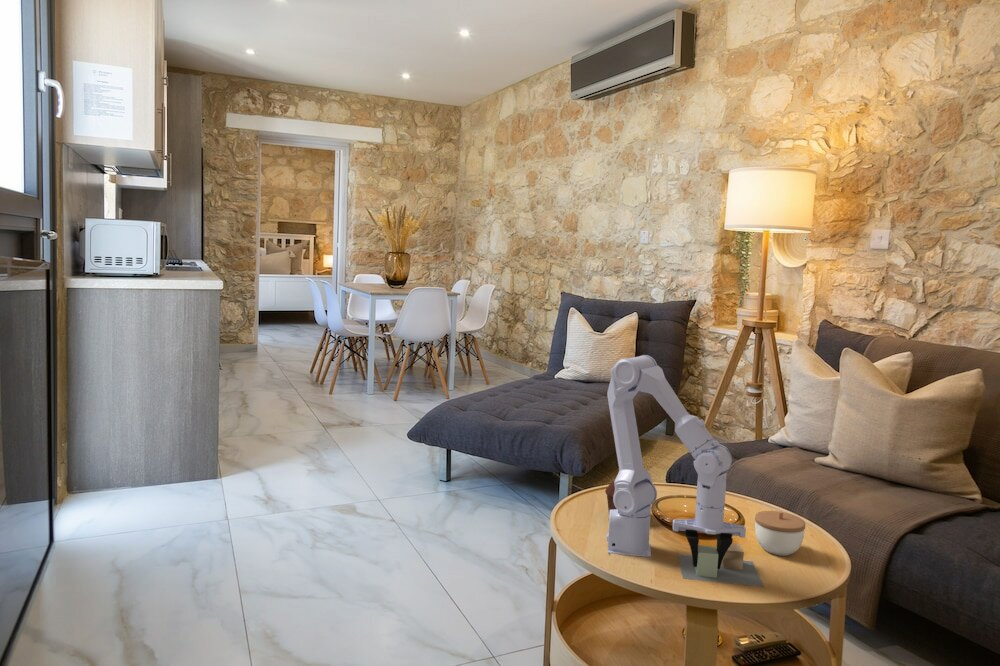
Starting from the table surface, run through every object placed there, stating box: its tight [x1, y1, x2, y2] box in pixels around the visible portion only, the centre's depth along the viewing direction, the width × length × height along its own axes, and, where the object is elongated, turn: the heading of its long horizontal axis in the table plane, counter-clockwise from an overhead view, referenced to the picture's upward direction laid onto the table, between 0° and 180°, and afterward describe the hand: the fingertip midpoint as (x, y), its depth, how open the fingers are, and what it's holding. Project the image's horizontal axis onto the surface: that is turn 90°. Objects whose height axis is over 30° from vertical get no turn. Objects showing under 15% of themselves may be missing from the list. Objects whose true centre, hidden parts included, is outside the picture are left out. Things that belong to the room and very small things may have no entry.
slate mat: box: [677, 553, 765, 588], centre depth 148 cm, size 16×12×1 cm
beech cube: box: [722, 543, 745, 570], centre depth 150 cm, size 4×4×4 cm
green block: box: [695, 544, 718, 578], centre depth 146 cm, size 4×4×5 cm
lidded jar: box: [754, 510, 806, 557], centre depth 159 cm, size 11×11×9 cm
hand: (706, 565), depth 146 cm, fingers closed on green block, 4 cm apart
